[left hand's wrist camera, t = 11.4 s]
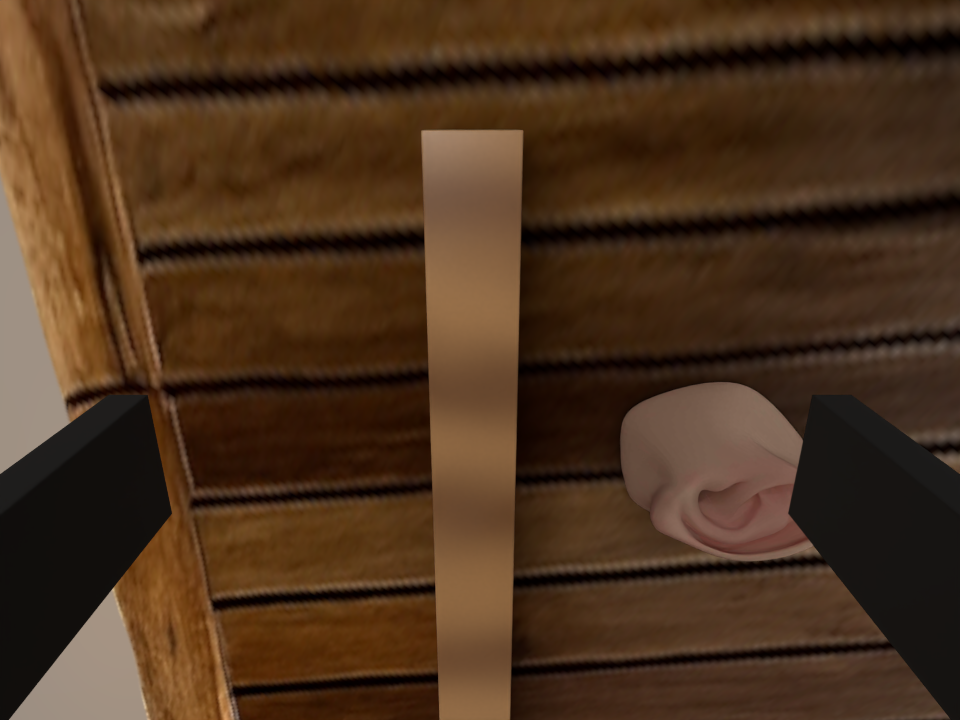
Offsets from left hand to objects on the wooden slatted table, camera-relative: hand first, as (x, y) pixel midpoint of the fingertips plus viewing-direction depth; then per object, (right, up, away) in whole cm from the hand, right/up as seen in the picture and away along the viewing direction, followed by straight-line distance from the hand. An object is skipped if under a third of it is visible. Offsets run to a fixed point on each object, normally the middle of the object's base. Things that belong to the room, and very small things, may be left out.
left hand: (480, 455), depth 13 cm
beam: (0, -13, +32) cm, 34 cm away
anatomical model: (+15, -5, +29) cm, 33 cm away
